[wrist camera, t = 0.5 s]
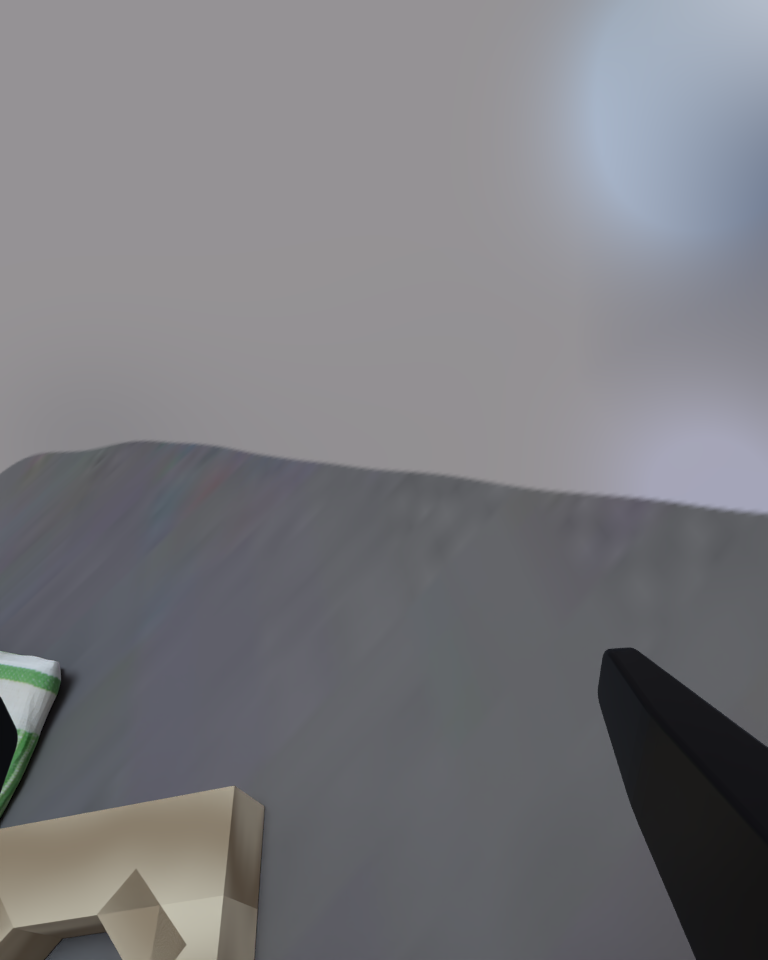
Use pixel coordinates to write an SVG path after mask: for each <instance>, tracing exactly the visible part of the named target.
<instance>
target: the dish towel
mask: <svg viewBox="0 0 768 960" xmlns="http://www.w3.org/2000/svg"><path fill="white" fill-rule="evenodd" d="M60 683H61V669H60V665H59V662H57V661H53V660H46V659H43V658H40V657H36V656H23V655H18V654H13V653H8V652H3V651H0V697H1V698H2V700H3V702H4V704H5V706H6V708H7V710H8V712H9V714H10V716H11V718H12V720H13V722H14V724H15V726H16V729H17V733H18V742H17V747H16V750H15V753H14V756H13V759H12V762H11V765H10V767H9V770H8V773H7V776H6V779H5V782H4V785H3V787H2V790H1V793H0V818H1V816H2V814H3V812H4V811H5V809H6V807H7V805H8V803H9V801H10V799H11V797H12V795H13V793H14V791H15V789H16V787H17V786H18V784H19V782H20V780H21V778H22V776H23V774H24V772H25V769H26V767H27V765H28V762H29V760H30V758H31V755H32V753H33V751H34V749H35V746H36V744H37V742H38V739H39V736H40V732H41V730H42V727H43V725H44V723H45V720H46V718H47V715H48V713H49V711H50V709H51V706H52V704H53V702H54V700H55V698H56V696H57V694H58V690H59V687H60Z"/></svg>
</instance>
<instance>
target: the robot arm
mask: <svg viewBox="0 0 768 960" xmlns="http://www.w3.org/2000/svg"><path fill="white" fill-rule="evenodd" d="M598 699H599V704H600V707H601V711H602V714H603V717H604V720H605V724H606V727H607V730H608V733H609V737H610V740H611V743H612V746H613V750H614V753H615V756H616V759H617V763H618V766H619V769H620V772H621V776H622V779H623V782H624V785H625V789H626V792H627V795H628V798H629V801H630V804H631V807H632V809H633V812H634V814H635V817H636V819H637V822H638V824H639V827H640V829H641V831H642V834H643V836H644V838H645V841H646V843H647V845H648V848H649V850H650V853H651V855H652V857H653V860H654V862H655V864H656V867H657V869H658V871H659V874H660V876H661V878H662V881H663V883H664V885H665V888H666V890H667V892H668V895H669V897H670V899H671V902H672V904H673V907H674V909H675V911H676V914H677V916H678V918H679V921H680V923H681V925H682V928H683V930H684V932H685V935H686V937H687V939H688V942H689V944H690V946H691V949H692V951H693V954H694V956H695V958H696V960H768V747H767V746H765V745H764V744H763V743H761V742H760V741H758V740H757V739H756V738H754V737H753V736H752V735H750V734H749V733H748V732H746V731H745V730H744V729H742V728H741V727H740V726H738V725H737V724H736V723H734V722H733V721H732V720H730V719H729V718H728V717H726V716H725V715H724V714H722V713H721V712H720V711H718V710H717V709H716V708H714V707H713V706H712V705H710V704H709V703H707V702H706V701H705V700H703V699H702V698H701V697H699V696H698V695H697V694H695V693H694V692H693V691H691V690H690V689H689V688H687V687H686V686H685V685H683V684H682V683H681V682H679V681H678V680H677V679H675V678H674V677H673V676H671V675H670V674H669V673H667V672H666V671H665V670H663V669H662V668H660V667H659V666H658V665H656V664H655V663H654V662H652V661H651V660H650V659H648V658H647V657H646V656H644V655H643V654H642V653H640V652H639V651H638V650H636V649H634V648H614V649H608V650H606V651H605V652H604V654H603V658H602V665H601V671H600V678H599V685H598ZM17 742H18V733H17V729H16V726H15V724H14V722H13V720H12V718H11V716H10V714H9V712H8V710H7V708H6V706H5V704H4V702H3V700H2V698H1V697H0V793H1V790H2V787H3V785H4V782H5V779H6V776H7V773H8V770H9V767H10V765H11V762H12V759H13V756H14V753H15V750H16V747H17Z"/></svg>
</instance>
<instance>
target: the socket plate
mask: <svg viewBox="0 0 768 960" xmlns="http://www.w3.org/2000/svg"><path fill="white" fill-rule="evenodd" d="M263 821H264V806H263V805H261V804H260V803H259V802H257V801H256V800H254V799H253V798H251V797H250V796H249V795H247V794H246V793H244V792H243V791H241V790H240V789H238V788H237V787H236V786H231V787H225V788H220V789H214V790H209V791H203V792H198V793H193V794H187V795H182V796H176V797H171V798H165V799H160V800H155V801H149V802H144V803H138V804H133V805H127V806H122V807H117V808H111V809H106V810H100V811H95V812H89V813H84V814H79V815H73V816H68V817H62V818H57V819H52V820H46V821H41V822H35V823H30V824H24V825H19V826H14V827H8V828H3V829H0V960H44V959H45V958H46V957H47V956H48V955H49V953H50V952H51V951H52V950H53V949H54V948H55V946H56V945H57V944H58V943H59V942H60V941H61V939H62V938H69V937H76V936H82V935H89V934H96V933H102V932H107V933H108V935H109V937H110V938H111V940H112V942H113V944H114V945H115V947H116V949H117V951H118V953H119V954H120V956H121V958H122V960H254V956H255V941H256V926H257V911H258V896H259V881H260V866H261V851H262V836H263Z"/></svg>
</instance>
